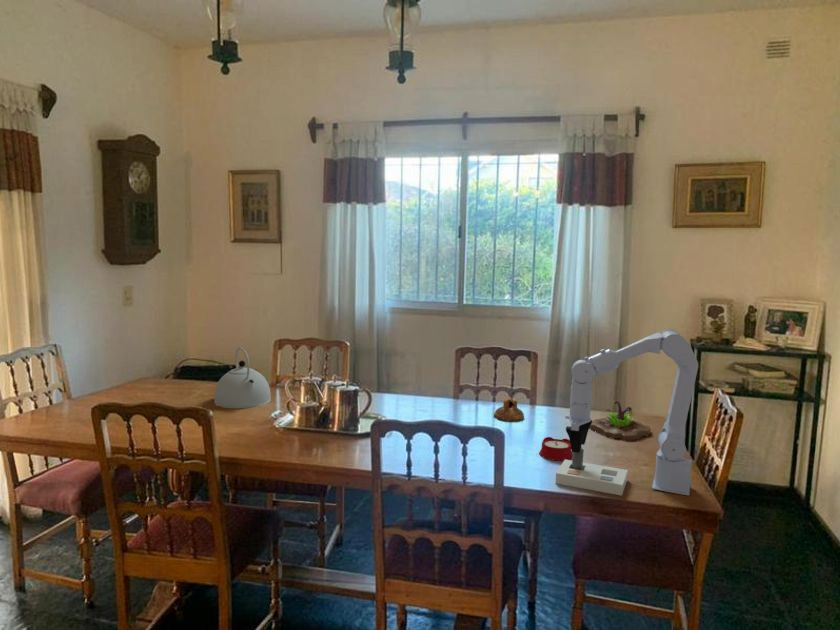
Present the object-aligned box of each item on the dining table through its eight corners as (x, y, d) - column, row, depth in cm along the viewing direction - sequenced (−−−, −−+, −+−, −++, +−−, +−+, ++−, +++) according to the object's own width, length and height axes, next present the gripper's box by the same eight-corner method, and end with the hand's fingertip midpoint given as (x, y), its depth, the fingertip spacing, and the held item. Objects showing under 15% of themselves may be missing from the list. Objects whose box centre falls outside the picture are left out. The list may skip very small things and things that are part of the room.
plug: (582, 475, 176) (584, 446, 174) (581, 478, 173) (582, 449, 172) (572, 473, 177) (574, 445, 176) (570, 476, 174) (572, 448, 173)
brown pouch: (523, 414, 239) (523, 396, 238) (524, 423, 227) (525, 404, 226) (493, 412, 240) (494, 394, 239) (493, 421, 228) (494, 402, 227)
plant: (613, 420, 233) (615, 392, 231) (658, 434, 217) (660, 403, 215) (579, 429, 221) (581, 399, 220) (624, 444, 205) (626, 412, 204)
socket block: (627, 480, 173) (627, 469, 173) (621, 495, 162) (622, 484, 162) (564, 469, 181) (564, 458, 180) (555, 483, 170) (556, 472, 170)
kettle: (280, 405, 245) (279, 350, 242) (223, 413, 233) (222, 355, 230) (260, 391, 266) (260, 341, 263) (208, 398, 254) (206, 345, 251)
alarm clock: (538, 449, 187) (542, 425, 201) (537, 466, 190) (541, 441, 203) (572, 453, 185) (574, 428, 198) (571, 470, 187) (573, 444, 200)
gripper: (571, 394, 180) (569, 438, 182) (561, 406, 167) (559, 453, 169) (595, 397, 177) (593, 442, 179) (586, 409, 164) (584, 457, 166)
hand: (578, 447), depth 174 cm, fingers open, 7 cm apart
